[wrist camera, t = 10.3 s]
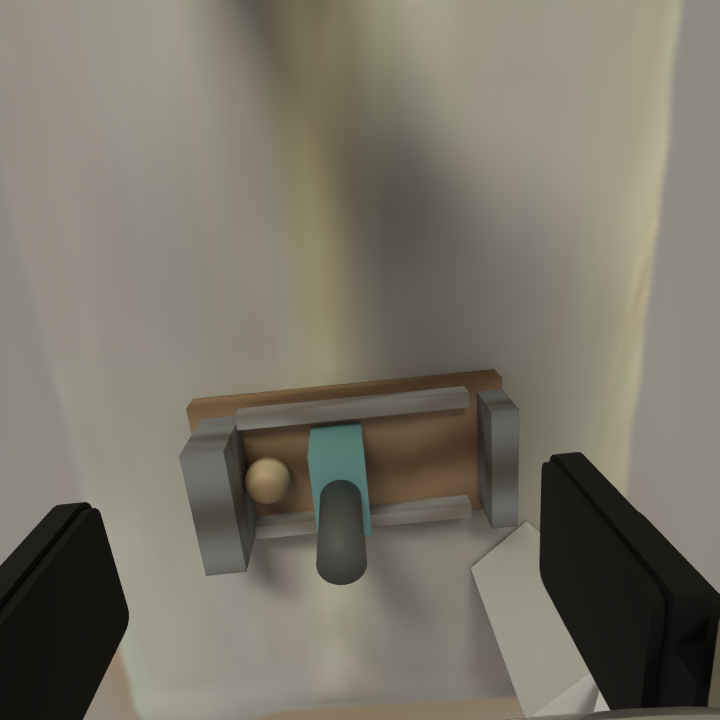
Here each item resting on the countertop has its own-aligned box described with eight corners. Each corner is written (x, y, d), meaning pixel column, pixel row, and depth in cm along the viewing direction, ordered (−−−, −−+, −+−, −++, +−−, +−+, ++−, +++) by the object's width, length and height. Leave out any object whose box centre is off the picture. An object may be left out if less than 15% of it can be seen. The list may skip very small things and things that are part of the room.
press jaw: (310, 427, 40) (300, 517, 29) (360, 422, 41) (370, 510, 29) (320, 502, 43) (314, 614, 31) (367, 497, 43) (379, 607, 31)
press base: (193, 399, 42) (161, 444, 34) (494, 369, 42) (528, 407, 35) (218, 522, 45) (194, 588, 38) (495, 494, 46) (526, 553, 38)
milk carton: (525, 518, 47) (644, 721, 29) (573, 561, 49) (713, 777, 31) (469, 566, 48) (548, 788, 30) (517, 606, 50) (620, 838, 32)
